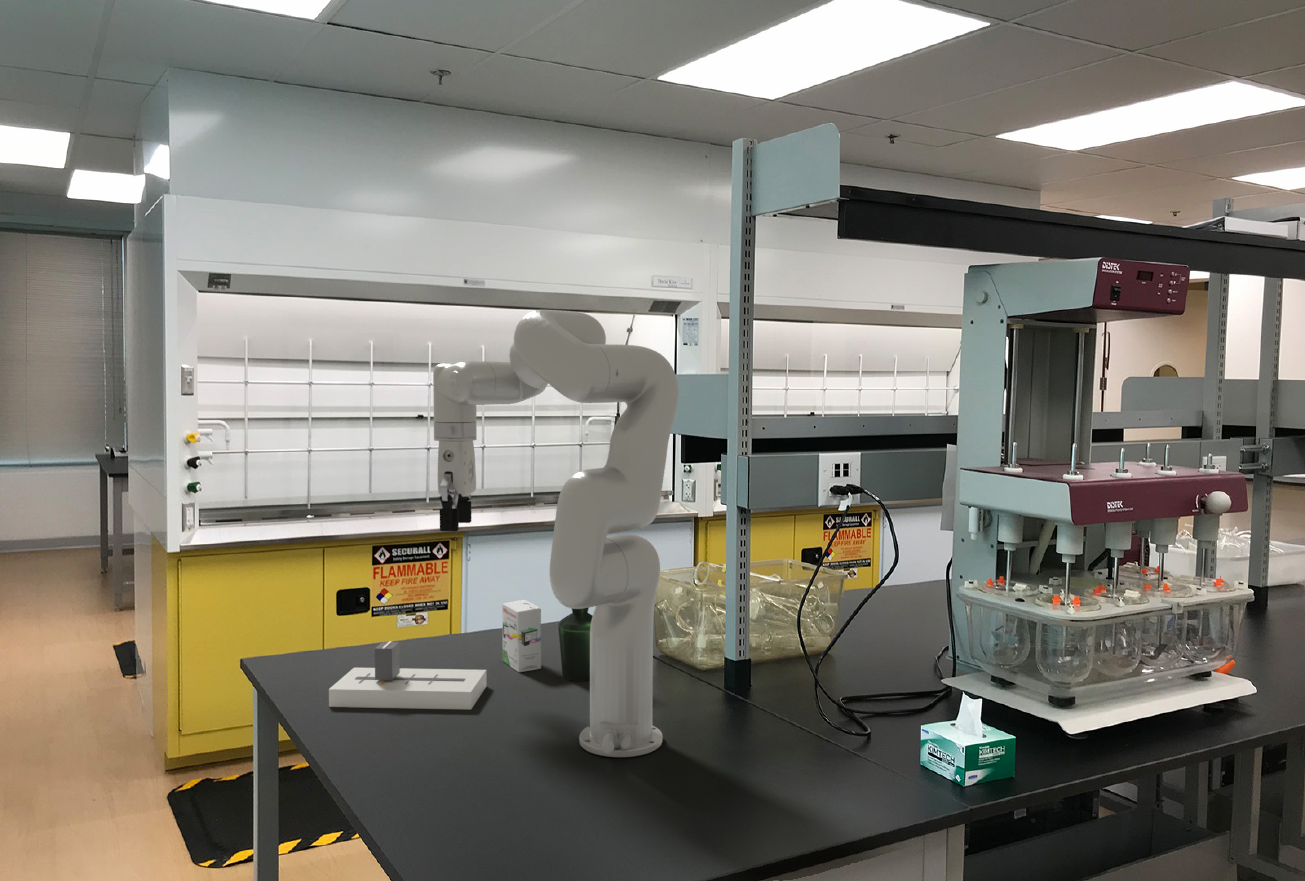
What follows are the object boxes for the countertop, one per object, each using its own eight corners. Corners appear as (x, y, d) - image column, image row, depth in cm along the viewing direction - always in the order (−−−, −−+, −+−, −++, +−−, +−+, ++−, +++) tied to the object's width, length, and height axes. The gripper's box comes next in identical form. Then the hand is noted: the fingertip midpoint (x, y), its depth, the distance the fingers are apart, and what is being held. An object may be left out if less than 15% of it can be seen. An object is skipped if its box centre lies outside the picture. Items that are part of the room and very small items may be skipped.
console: (471, 709, 159) (470, 691, 158) (329, 706, 160) (328, 688, 159) (486, 686, 171) (486, 669, 170) (354, 683, 172) (354, 667, 171)
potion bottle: (600, 683, 173) (600, 585, 172) (555, 682, 173) (555, 584, 172) (603, 669, 181) (603, 575, 180) (560, 668, 181) (560, 575, 180)
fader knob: (392, 680, 163) (391, 647, 163) (375, 680, 163) (374, 647, 163) (399, 673, 167) (399, 641, 167) (382, 672, 167) (382, 641, 167)
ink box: (501, 661, 186) (501, 601, 185) (524, 657, 188) (524, 598, 188) (518, 673, 178) (517, 611, 178) (542, 669, 181) (542, 608, 180)
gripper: (464, 435, 162) (465, 534, 163) (486, 429, 179) (486, 519, 180) (420, 434, 162) (422, 534, 164) (446, 429, 180) (447, 519, 181)
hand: (456, 526), depth 172 cm, fingers open, 9 cm apart
